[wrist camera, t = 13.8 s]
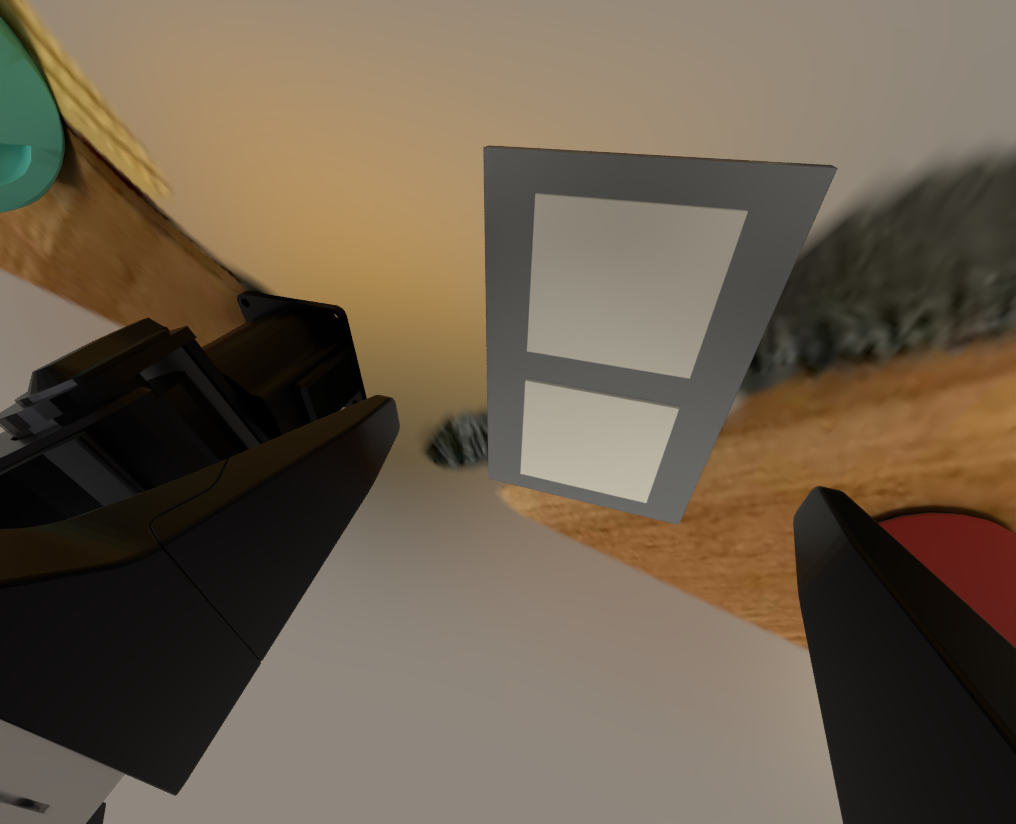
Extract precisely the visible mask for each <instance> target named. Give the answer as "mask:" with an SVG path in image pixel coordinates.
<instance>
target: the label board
mask: <svg viewBox="0 0 1016 824" xmlns="http://www.w3.org/2000/svg"><path fill="white" fill-rule="evenodd" d="M836 170H837V168H836V167H834V166H832V165H817V164H801V163H783V162H764V161H749V160H731V159H714V158H696V157H679V156H661V155H643V154H626V153H610V152H592V151H574V150H558V149H539V148H523V147H504V146H486V147H484V208H485V271H486V272H485V273H486V337H487V338H486V339H487V405H488V470H489V479H492V480H496V481H500V482H504V483H508V484H513V485H517V486H521V487H525V488H529V489H533V490H537V491H541V492H546V493H550V494H554V495H558V496H562V497H566V498H570V499H574V500H579V501H583V502H587V503H591V504H595V505H599V506H603V507H608V508H612V509H616V510H620V511H624V512H628V513H632V514H636V515H641V516H645V517H649V518H653V519H657V520H661V521H665V522H670V523H674V524H678V525H679V523H680V520H681V518H682V516H683V514H684V511H685V509H686V507H687V505H688V502H689V500H690V498H691V496H692V494H693V491H694V489H695V487H696V485H697V482H698V480H699V478H700V476H701V473H702V471H703V469H704V467H705V464H706V462H707V460H708V458H709V455H710V453H711V451H712V449H713V446H714V444H715V442H716V440H717V437H718V435H719V433H720V431H721V428H722V426H723V424H724V422H725V419H726V417H727V415H728V413H729V411H730V408H731V406H732V404H733V402H734V399H735V397H736V395H737V393H738V390H739V388H740V386H741V384H742V381H743V379H744V377H745V375H746V372H747V370H748V368H749V366H750V363H751V361H752V359H753V357H754V354H755V352H756V350H757V348H758V345H759V343H760V341H761V339H762V336H763V334H764V332H765V330H766V327H767V325H768V323H769V321H770V319H771V316H772V314H773V312H774V310H775V307H776V305H777V303H778V301H779V298H780V296H781V294H782V292H783V289H784V287H785V285H786V283H787V280H788V278H789V276H790V274H791V271H792V269H793V267H794V265H795V262H796V260H797V258H798V256H799V253H800V251H801V249H802V247H803V244H804V242H805V240H806V238H807V235H808V233H809V231H810V229H811V227H812V224H813V222H814V220H815V218H816V215H817V213H818V211H819V209H820V206H821V204H822V202H823V199H824V197H825V195H826V193H827V191H828V188H829V186H830V184H831V182H832V179H833V177H834V175H835V173H836Z"/></svg>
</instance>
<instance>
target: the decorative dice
mask: <svg viewBox="0 0 1016 824" xmlns="http://www.w3.org/2000/svg"><path fill="white" fill-rule="evenodd" d="M64 153H65V137H64V131H63V126H62V122H61V118H60V115H59V112H58V109H57V107H56V104H55V102H54V99H53V97H52V95H51V92H50V90H49V88H48V86H47V84H46V82H45V80H44V78H43V77H42V75H41V73H40V71H39V69H38V68H37V66H36V64H35V63H34V61H33V60H32V58H31V56H30V55H29V53H28V52H27V50H26V49H25V47H24V46H23V44H22V43H21V42H20V40H19V39H18V38H17V36H16V35H15V34H14V32H13V31H12V30H11V28H10V27H9V26H8V25H7V24H6V22H5V21H4V20H3V19H2V18H1V16H0V213H1V212H6V211H11V210H15V209H18V208H21V207H24V206H27V205H30V204H32V203H34V202H36V201H37V200H39V199H40V198H41V197H42V196H43V195H44V194H45V193H46V192H47V191H48V190H49V189H50V187H51V186H52V184H53V183H54V181H55V180H56V178H57V176H58V174H59V171H60V169H61V166H62V162H63V158H64Z"/></svg>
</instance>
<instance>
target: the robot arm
mask: <svg viewBox="0 0 1016 824" xmlns="http://www.w3.org/2000/svg"><path fill="white" fill-rule="evenodd" d="M237 300H238V303H239V306H240V308H241V311H242V313H243V315H244V318H245V320H246V323H245V324H243V325H241V326H240V327H238V328H236V329H234V330H232V331H231V332H229V333H227V334H225V335H223V336H222V337H220V338H218V339H216V340H214V341H213V342H211V343H209V344H207V345H205V346H204V347H202V348H201V347H200V345H199V344H198V343H197V341H196V340H195V338H196V336H195V335H194V334H193V332H192V331H191V330H190V329H189V327H188V326H184V327H181V328H178V329H174V330H171V331H169V329H168V328H167V327H164V326H162V325H160V324H158V323H157V322H155V321H153V320H151V319H150V318H146V319H143V320H140V321H138V322H135V323H133V324H131V325H128V326H126V327H124V328H122V329H119V330H117V331H115V332H113V333H110V334H108V335H106V336H104V337H101V338H99V339H97V340H95V341H93V342H91V343H89V344H87V345H85V346H83V347H81V348H79V349H77V350H75V351H73V352H71V353H69V354H67V355H65V356H63V357H61V358H59V359H57V360H55V361H53V362H51V363H49V364H47V365H45V366H43V367H41V368H39V369H37V370H35V371H33V372H32V376H31V380H30V385H29V388H28V392H26V393H25V394H23V395H21V396H20V397H18V398H17V399H15V402H16V403H15V404H14V405H12V406H11V407H9V408H7V409H6V410H4V411H2V412H1V413H0V427H2V428H3V429H4V430H5V432H3V433H1V434H0V824H103V819H104V813H105V807H106V803H104V802H103V801H104V800H105V799H106V797H107V796H108V795H109V794H110V792H111V791H112V790H113V788H114V787H115V786H116V785H117V784H118V782H119V781H120V780H121V778H122V777H123V776H124V775H125V774H126V775H129V776H131V777H133V778H135V779H138V780H140V781H142V782H145V783H147V784H149V785H152V786H154V787H156V788H158V789H161V790H163V791H165V792H167V793H170V794H172V795H175V796H176V795H177V794H178V793H179V791H180V790H181V788H182V787H183V786H184V784H185V783H186V781H187V780H188V778H189V776H190V775H191V773H192V772H193V770H194V769H195V767H196V765H197V764H198V762H199V761H200V759H201V757H202V756H203V754H204V753H205V751H206V750H207V748H208V746H209V745H210V743H211V742H212V740H213V738H214V737H215V735H216V734H217V732H218V730H219V729H220V727H221V726H222V724H223V723H224V721H225V719H226V718H227V716H228V715H229V713H230V712H231V710H232V708H233V707H234V705H235V703H236V702H237V700H238V699H239V697H240V696H241V694H242V693H243V691H244V689H245V688H246V686H247V685H248V683H249V681H250V680H251V678H252V676H253V675H254V673H255V672H256V670H257V669H258V667H259V666H260V664H261V661H262V660H263V659H264V657H265V656H266V654H267V652H268V651H269V649H270V647H271V646H272V644H273V643H274V641H275V640H276V638H277V637H278V635H279V633H280V632H281V630H282V629H283V627H284V625H285V624H286V622H287V621H288V619H289V618H290V616H291V614H292V613H293V611H294V610H295V608H296V606H297V605H298V603H299V602H300V600H301V599H302V597H303V595H304V594H305V592H306V591H307V589H308V587H309V586H310V584H311V583H312V581H313V579H314V578H315V576H316V575H317V573H318V572H319V570H320V568H321V567H322V565H323V564H324V562H325V560H326V559H327V557H328V556H329V554H330V553H331V551H332V549H333V548H334V546H335V544H336V543H337V541H338V540H339V538H340V537H341V535H342V533H343V532H344V530H345V529H346V527H347V526H348V524H349V522H350V521H351V519H352V517H353V516H354V514H355V513H356V511H357V510H358V508H359V507H360V505H361V503H362V502H363V500H364V499H365V497H366V495H367V494H368V492H369V490H370V489H371V487H372V486H373V484H374V482H375V480H376V478H377V476H378V474H379V472H380V470H381V468H382V466H383V463H384V462H385V460H386V457H387V455H388V453H389V451H390V449H391V447H392V445H393V443H394V441H395V439H396V437H397V435H398V432H399V428H400V425H399V419H398V413H397V408H396V403H395V401H394V399H393V398H391V397H387V396H382V395H375V396H373V397H370V398H368V399H367V398H366V394H365V389H364V386H363V381H362V377H361V373H360V369H359V364H358V360H357V356H356V352H355V348H354V344H353V340H352V336H351V331H350V327H349V323H348V319H347V315H346V313H345V311H344V310H343V309H342V308H340V307H339V306H337V305H331V304H324V303H318V302H312V301H305V300H299V299H293V298H287V297H281V296H274V295H268V294H262V293H256V292H249V291H245V292H243V293H241V294H239V295H238V296H237ZM334 314H336V316H337V317H338V318H337V317H336V316H335V315H334ZM343 407H346V408H345V409H343V410H341V409H342V408H343ZM340 410H341V411H340ZM793 527H794V542H795V557H796V572H797V585H798V595H799V601H800V607H801V613H802V618H803V623H804V628H805V633H806V638H807V643H808V648H809V653H810V658H811V663H812V668H813V673H814V678H815V684H816V689H817V693H818V698H819V704H820V709H821V714H822V719H823V724H824V729H825V734H826V739H827V744H828V749H829V754H830V760H831V765H832V769H833V775H834V780H835V785H836V790H837V795H838V799H839V805H840V810H841V815H842V820H843V824H1016V647H1014V646H1013V645H1012V644H1011V643H1010V642H1009V641H1008V640H1007V639H1006V638H1004V637H1003V636H1002V635H1001V634H1000V633H999V632H998V631H997V630H996V629H994V628H993V627H992V626H991V625H990V624H989V623H988V622H987V621H986V620H985V619H983V618H982V617H981V616H980V615H979V614H978V613H977V612H976V611H975V610H973V609H972V608H971V607H970V606H969V605H968V604H967V603H966V602H965V601H963V600H962V599H961V598H960V597H959V596H958V595H957V594H956V593H955V592H954V591H952V590H951V589H950V588H949V587H948V586H947V585H946V584H945V583H944V582H942V581H941V580H940V579H939V578H938V577H937V576H936V575H935V574H934V573H933V572H931V571H930V570H929V569H928V568H927V567H926V566H925V565H924V564H923V563H921V562H920V561H919V560H918V559H917V558H916V557H915V556H914V555H913V554H911V553H910V552H909V551H908V550H907V549H906V548H905V547H904V546H903V545H902V544H900V543H899V542H898V541H897V540H896V539H895V538H894V537H893V536H892V535H890V534H889V533H888V532H887V531H886V530H885V529H884V528H883V527H882V526H881V525H879V524H878V523H877V522H876V521H875V520H874V519H873V518H872V517H871V516H869V515H868V514H867V513H866V512H865V511H864V510H863V509H862V508H861V507H859V506H858V505H857V504H856V503H855V502H854V501H853V500H852V499H851V498H850V497H848V496H847V495H846V494H845V493H844V492H842V491H840V490H836V489H831V488H827V487H822V486H818V487H815V488H813V489H812V490H811V492H810V493H809V494H808V496H807V497H806V499H805V500H804V501H803V503H802V504H801V506H800V507H799V509H798V510H797V511H796V513H795V516H794V521H793Z"/></svg>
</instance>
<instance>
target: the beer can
mask: <svg viewBox="0 0 1016 824" xmlns="http://www.w3.org/2000/svg"><path fill="white" fill-rule="evenodd" d="M877 523H878V524H879V525H881V526H882V527H883V528H884V529H885V530H886V531H887V532H888V533H889V534H890V535H892V536H893V537H894V538H895V539H896V540H897V541H898V542H899V543H900V544H902V545H903V546H904V547H905V548H906V549H907V550H908V551H909V552H910V553H911V554H913V555H914V556H915V557H916V558H917V559H918V560H919V561H920V562H921V563H923V564H924V565H925V566H926V567H927V568H928V569H929V570H930V571H931V572H933V573H934V574H935V575H936V576H937V577H938V578H939V579H940V580H941V581H942V582H944V583H945V584H946V585H947V586H948V587H949V588H950V589H951V590H952V591H954V592H955V593H956V594H957V595H958V596H959V597H960V598H961V599H962V600H963V601H965V602H966V603H967V604H968V605H969V606H970V607H971V608H972V609H973V610H975V611H976V612H977V613H978V614H979V615H980V616H981V617H982V618H983V619H985V620H986V621H987V622H988V623H989V624H990V625H991V626H992V627H993V628H994V629H996V630H997V631H998V632H999V633H1000V634H1001V635H1002V636H1003V637H1004V638H1006V639H1007V640H1008V641H1009V642H1010V643H1011V644H1012V645H1013V646H1014V647H1016V534H1015V533H1013V532H1012V531H1010V530H1008V529H1006V528H1004V527H1002V526H1000V525H998V524H996V523H994V522H992V521H988V520H985V519H980V518H976V517H971V516H967V515H962V514H956V513H934V512H928V513H919V514H910V515H902V516H898V517H895V518H891V519H888V520H884V521H881V522H877Z"/></svg>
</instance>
